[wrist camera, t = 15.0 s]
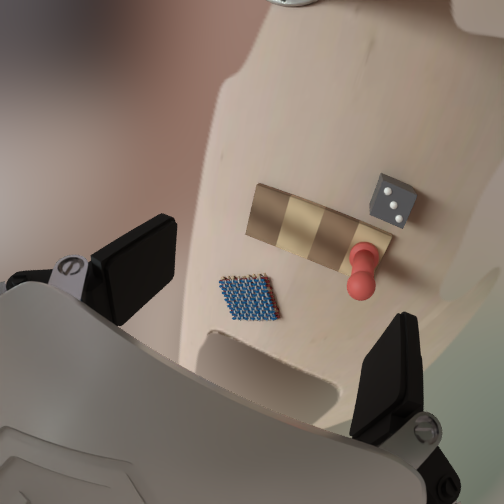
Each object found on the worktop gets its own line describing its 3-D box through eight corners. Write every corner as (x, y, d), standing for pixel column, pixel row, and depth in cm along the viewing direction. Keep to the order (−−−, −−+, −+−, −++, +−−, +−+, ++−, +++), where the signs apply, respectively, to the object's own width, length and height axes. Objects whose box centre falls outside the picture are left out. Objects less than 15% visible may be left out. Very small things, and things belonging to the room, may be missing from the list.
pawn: (356, 236, 40) (351, 272, 32) (383, 248, 39) (384, 287, 31) (345, 261, 42) (336, 300, 34) (371, 272, 41) (367, 314, 33)
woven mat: (282, 316, 55) (279, 322, 53) (236, 316, 59) (232, 322, 58) (269, 271, 51) (265, 276, 49) (220, 274, 56) (215, 280, 54)
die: (380, 172, 35) (382, 180, 31) (411, 186, 34) (417, 195, 30) (369, 204, 38) (369, 216, 34) (398, 217, 37) (402, 230, 33)
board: (259, 183, 43) (256, 184, 42) (391, 233, 39) (392, 237, 38) (248, 231, 48) (245, 234, 47) (368, 280, 43) (368, 284, 42)
